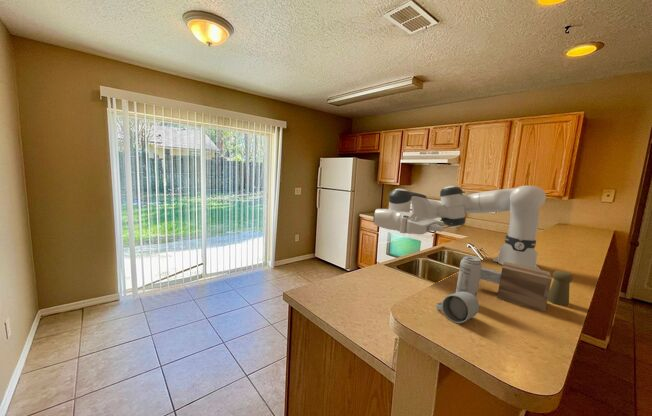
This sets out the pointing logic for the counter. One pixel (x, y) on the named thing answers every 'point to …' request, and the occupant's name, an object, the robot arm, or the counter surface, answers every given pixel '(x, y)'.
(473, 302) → the ceramic mug
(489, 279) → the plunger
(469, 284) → the energy drink can
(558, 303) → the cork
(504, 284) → the block
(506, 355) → the counter surface
